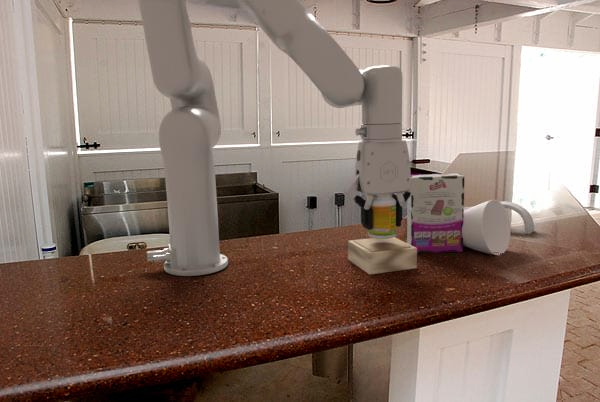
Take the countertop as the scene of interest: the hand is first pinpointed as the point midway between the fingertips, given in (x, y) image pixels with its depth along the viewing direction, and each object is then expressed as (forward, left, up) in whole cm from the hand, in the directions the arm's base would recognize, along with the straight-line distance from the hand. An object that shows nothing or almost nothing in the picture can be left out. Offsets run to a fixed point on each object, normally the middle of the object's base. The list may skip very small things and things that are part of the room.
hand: (381, 225), depth 95 cm
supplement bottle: (0, 0, -2) cm, 2 cm away
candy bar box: (+15, +5, -8) cm, 17 cm away
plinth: (0, 0, -8) cm, 8 cm away
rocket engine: (+23, +5, -8) cm, 25 cm away
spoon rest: (+38, +18, -8) cm, 43 cm away
